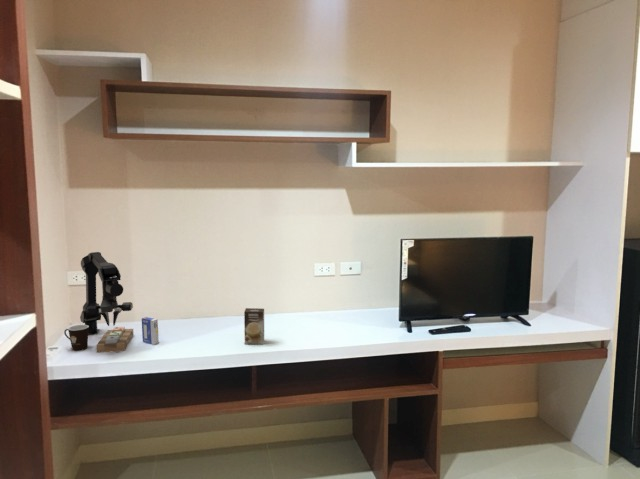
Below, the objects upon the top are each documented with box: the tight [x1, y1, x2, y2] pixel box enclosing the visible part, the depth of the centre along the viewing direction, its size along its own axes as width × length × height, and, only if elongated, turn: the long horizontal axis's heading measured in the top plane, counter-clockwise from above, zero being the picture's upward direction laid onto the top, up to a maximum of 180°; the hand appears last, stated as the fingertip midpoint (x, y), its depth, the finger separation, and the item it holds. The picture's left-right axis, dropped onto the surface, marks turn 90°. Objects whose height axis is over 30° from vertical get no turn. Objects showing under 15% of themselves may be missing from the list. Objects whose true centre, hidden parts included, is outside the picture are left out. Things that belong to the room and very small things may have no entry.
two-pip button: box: [111, 326, 126, 333], centre depth 251 cm, size 5×5×3 cm
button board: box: [95, 328, 135, 353], centre depth 245 cm, size 22×12×4 cm, turn 10°
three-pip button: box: [109, 331, 122, 338], centre depth 244 cm, size 5×5×3 cm
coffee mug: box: [64, 324, 89, 352], centre depth 239 cm, size 12×9×10 cm
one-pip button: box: [105, 336, 119, 344], centre depth 238 cm, size 5×5×3 cm
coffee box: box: [243, 307, 265, 346], centre depth 245 cm, size 9×6×16 cm
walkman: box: [141, 316, 160, 345], centre depth 246 cm, size 8×3×12 cm, turn 61°
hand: (111, 325), depth 237 cm, fingers open, 2 cm apart
